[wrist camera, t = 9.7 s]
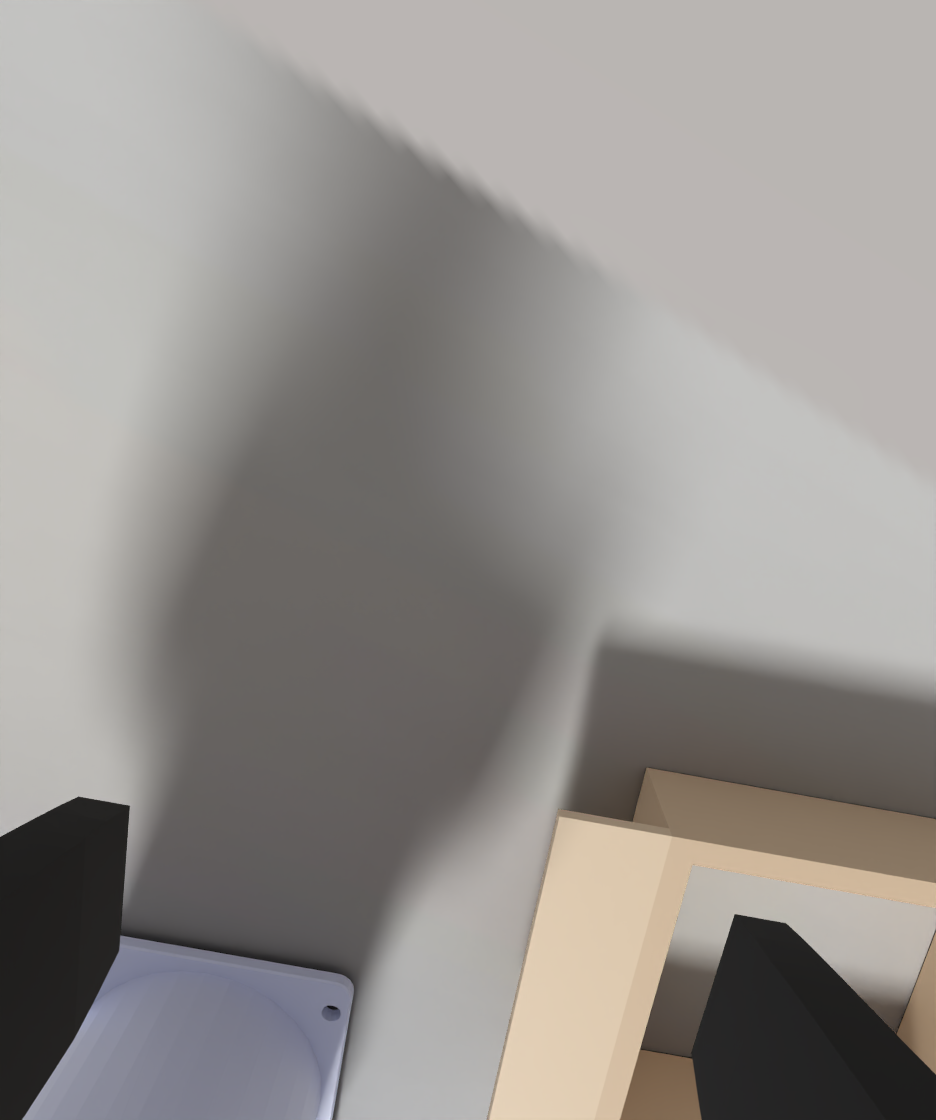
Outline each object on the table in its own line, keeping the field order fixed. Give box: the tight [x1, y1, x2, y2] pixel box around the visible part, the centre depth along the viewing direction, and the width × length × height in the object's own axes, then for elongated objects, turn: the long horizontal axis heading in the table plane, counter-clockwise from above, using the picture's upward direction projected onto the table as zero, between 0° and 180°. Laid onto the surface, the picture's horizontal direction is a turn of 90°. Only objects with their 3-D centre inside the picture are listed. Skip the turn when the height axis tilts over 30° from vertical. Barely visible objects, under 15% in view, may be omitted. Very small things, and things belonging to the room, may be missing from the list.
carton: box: [487, 768, 936, 1120], centre depth 20 cm, size 9×14×3 cm, turn 80°
